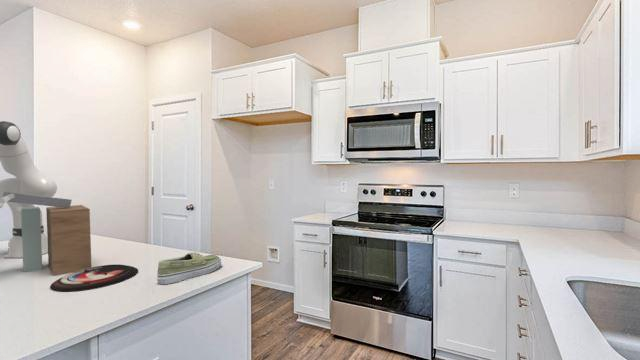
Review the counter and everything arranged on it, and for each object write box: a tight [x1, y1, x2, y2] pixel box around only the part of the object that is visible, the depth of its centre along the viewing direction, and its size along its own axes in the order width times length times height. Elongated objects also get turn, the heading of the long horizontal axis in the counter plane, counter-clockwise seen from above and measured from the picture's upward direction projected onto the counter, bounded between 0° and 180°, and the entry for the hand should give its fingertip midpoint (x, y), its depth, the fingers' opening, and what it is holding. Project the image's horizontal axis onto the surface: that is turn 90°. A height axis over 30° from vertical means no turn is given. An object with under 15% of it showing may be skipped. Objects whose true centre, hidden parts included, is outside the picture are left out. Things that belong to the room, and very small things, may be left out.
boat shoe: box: [156, 251, 222, 285], centre depth 135 cm, size 10×29×9 cm, turn 150°
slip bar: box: [3, 192, 72, 208], centre depth 140 cm, size 4×22×4 cm, turn 129°
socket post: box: [21, 206, 43, 273], centre depth 144 cm, size 8×6×26 cm
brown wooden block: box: [45, 204, 92, 276], centre depth 147 cm, size 22×13×26 cm, turn 43°
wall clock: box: [49, 264, 139, 293], centre depth 132 cm, size 27×5×30 cm
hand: (13, 194), depth 136 cm, fingers closed on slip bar, 4 cm apart
